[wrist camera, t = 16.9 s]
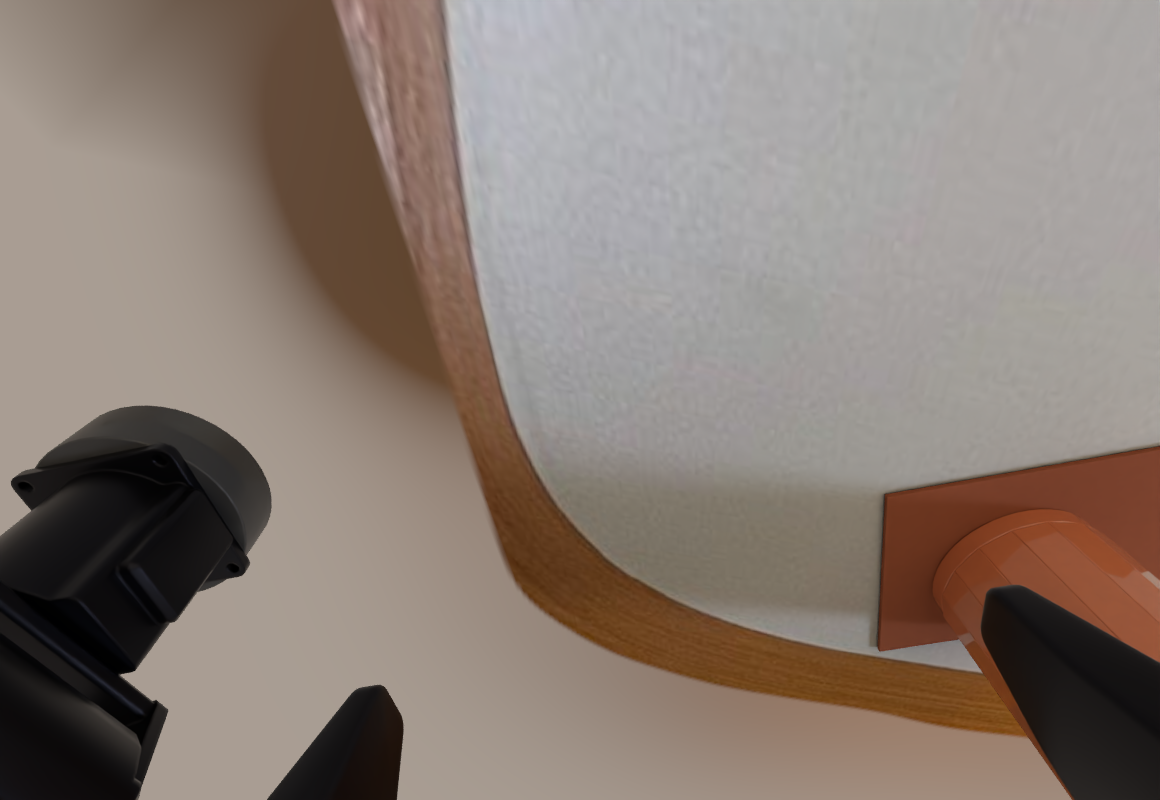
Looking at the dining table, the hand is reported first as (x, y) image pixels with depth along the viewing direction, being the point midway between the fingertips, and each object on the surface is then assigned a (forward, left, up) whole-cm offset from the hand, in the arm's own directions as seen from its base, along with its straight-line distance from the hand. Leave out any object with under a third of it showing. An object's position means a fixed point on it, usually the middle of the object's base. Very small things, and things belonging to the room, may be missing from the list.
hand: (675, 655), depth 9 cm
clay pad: (+15, -13, -12) cm, 23 cm away
